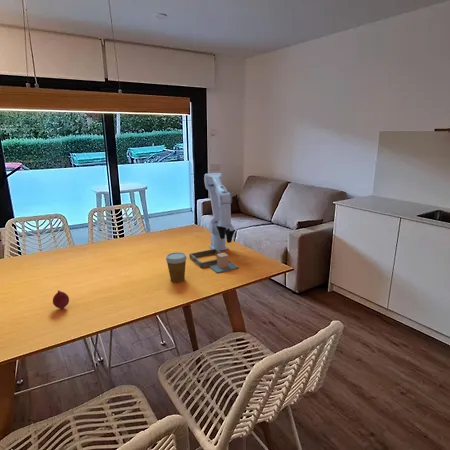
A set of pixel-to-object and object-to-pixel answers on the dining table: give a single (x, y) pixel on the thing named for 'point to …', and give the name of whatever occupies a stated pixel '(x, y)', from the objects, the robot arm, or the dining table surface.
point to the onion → (60, 299)
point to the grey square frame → (203, 253)
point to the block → (222, 260)
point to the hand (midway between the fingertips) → (225, 240)
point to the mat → (219, 270)
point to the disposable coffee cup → (176, 266)
